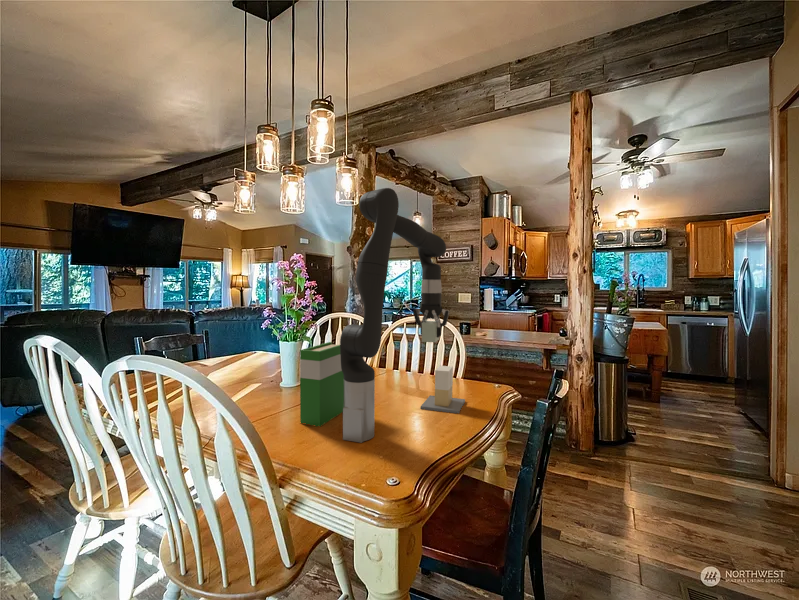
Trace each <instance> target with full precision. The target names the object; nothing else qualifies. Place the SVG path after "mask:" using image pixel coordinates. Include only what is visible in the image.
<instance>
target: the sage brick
mask: <svg viewBox="0 0 799 600" xmlns="http://www.w3.org/2000/svg"><path fill="white" fill-rule="evenodd" d="M440 337H441V336H440ZM440 337H437V323H436V322H435V320H427V321H426V322H423V323H422V335H421V342H422V343H437V342H438V341H439V340H440Z"/></svg>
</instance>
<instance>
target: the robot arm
mask: <svg viewBox="0 0 799 600" xmlns="http://www.w3.org/2000/svg"><path fill="white" fill-rule="evenodd" d="M358 203H359V206H358V207H359V210H360V213H361V214H362V216H363V217H364V218H365V219H366V220H368V221H369V222H372V223H374V224H375V226H374V229H373V232H372V234H371V236H370V237H369V240H368V241H367V242H366V244H365V246H364V247H363V249H362V251H361V252H360V254H359V257H358V259H357V265H356V270H355V271H356V272H355V284H356V287H357V291H358V294H359V295H360V296H359V297H360V299H361V301H362V305H363V320H362V324H347V325H346V326H345V327H344V328H343V329H342V332H341V334H340V338H339V339H340V340H339V345H340V356H341V369H342V372H343V375H344V408H343V412H342V440H343V441H348V442H349V441H350V442H355V443H360V444H361V443H364V442H365V441H369V440H371V439H373V438H375V405H376V404H375V403H376V402H375V400H376V399H375V387H376V386H375V384H376V377H375V376H376V374H375V373H376V372H375V369H374V367H372V366H370V365H369V364H368V363H367V362H366V361H365V359H364V358H368V359H371V358H374V357H376V355H377V354H378V352H379V351H380V348H381V341H382V328H383V327H382V325H383V310H384V309H383V308H384V307H383V306H384V298H385V297H384V296H385V289H386V282H387V276H388V271H389V269H388V268H389V260H390V254H391V253H390V252H391V248H392V240H393V235H394V234H396V235H397V236H399V237H401V238H402V239H404V240H405V241H406V242H407V243H409V244H410V245H411V246H413V247H415V248H417V253H418V257H419V258H418V259H419V261H420V266H421V271H422V272H421V276H422V277H421V287H420V289H421V293H420V294H421V297H420V299H421V305H420V307H419V308H415V309H413V311H412V313H413V316H414V321H415V325H417V326H420V335H421V336H422V323H423V322H426V321H428V320H429V319H432V320H434V321H435V322H436V323H437V337H441V335H442V327H445V326H447V324H448V323H447V322H448V318H449V315H450V312H451V311H450V310H449V309H445V308H443V307H442V292H443V288H442V267H441V265H440V264H438V263H434V262H433V261H432V258H441V257H442V256H444V255H445V254H446V251H447V244H446V242H445V241H444V239H443V238H442V237H440V236H439V235H438V234H437V235H436V234H435V233H432V232H430V231H427V230H426V229H425V228H423V227H422V226H421V225H420V224H419V223H418V222H416V221H415V220H412V219H410V218H407V217H405V216H401V215H399V213H398V212H399V206H400V205H399V198H398V195H397V192H396V191H395V190H394V189H393V188H391V187H385V188H379V189H374V190H370V191H367V192H365V193H363V194H362V195H361V197H360V199H359V202H358ZM420 313H421V314H422V315H423V317H422V319H420ZM441 314H442V315H443V319H442V321H441V318H440V315H441Z"/></svg>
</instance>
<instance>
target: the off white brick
mask: <svg viewBox="0 0 799 600" xmlns="http://www.w3.org/2000/svg"><path fill="white" fill-rule="evenodd" d="M434 371H435V372H434V390H435V389H439V390H449V389H450V388H451V386H452V387H453V383H454V381H453V378H454V377H453V376H454V375H453V374H454V373H453V372H454V367H453V366H450V365H449V366H448V365H447V366H446V365H439V366H438V367H437V368H436V369H435V370H434Z"/></svg>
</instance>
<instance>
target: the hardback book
mask: <svg viewBox="0 0 799 600" xmlns="http://www.w3.org/2000/svg"><path fill="white" fill-rule="evenodd" d="M299 364H300V365H299V372H300V374H299V378H300V379H299V387H300V389H299V390H300V391H299V395H300V397H299V398H300V399H299V402H300V404H299V405H300V408H299V409H300V411H299V412H300V414H299V415H300V417H299V418H300V421H299V422H301V423H306V424H305V425H307V424H310V425H309V426H313V425H315V426H314V427H318V426H320V427H321V425H322V426H324V425H325V424H326V423H328V422H330V421H331V420H332V419H334V418H336V417H337V416H339V415H341V414H343V408H344V375H343V372H342V369H341V356H340V344H333V342H332V341H328V342H325V343H321V344H317V345H314V346H311V347H307V348H302V349H300V350H299ZM301 423H300V424H301Z"/></svg>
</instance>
